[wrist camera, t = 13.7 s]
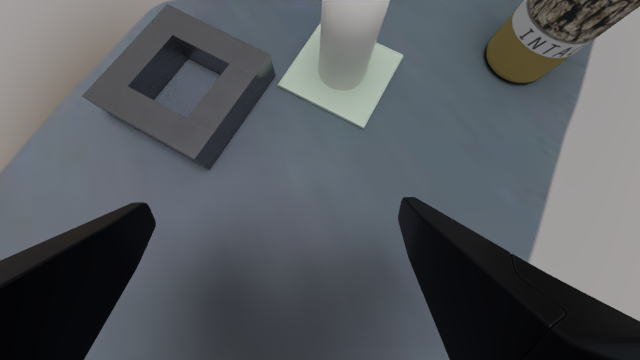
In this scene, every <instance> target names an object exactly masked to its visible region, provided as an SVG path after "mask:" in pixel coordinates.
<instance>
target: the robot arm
mask: <svg viewBox="0 0 640 360" xmlns="http://www.w3.org/2000/svg"><path fill="white" fill-rule="evenodd" d="M398 221H399V225H400V229H401V232H402V236H403V239H404V243H405V247H406V250H407V254H408V257H409V260H410V263H411V265H412V268H413V270H414V273H415V275H416V278H417V280H418V282H419V285H420V287H421V290H422V292H423V295H424V297H425V300H426V302H427V305H428V307H429V310H430V312H431V314H432V317H433V319H434V322H435V324H436V327H437V329H438V332H439V334H440V337H441V339H442V341H443V344H444V346H445V349H446V351H447V354H448V356H449V359H450V360H640V321H638V320H636V319H634V318H632V317H630V316H628V315H626V314H624V313H622V312H620V311H618V310H616V309H614V308H612V307H611V306H609V305H607V304H604V303H602V302H601V301H599V300H597V299H595V298H593V297H591V296H589V295H587V294H585V293H583V292H581V291H579V290H578V289H576V288H573V287H572V286H570V285H568V284H566V283H564V282H562V281H560V280H558V279H557V278H554V277H553V276H551V275H549V274H547V273H545V272H544V271H542V270H540V269H538V268H536V267H535V266H533V265H531V264H529V263H528V262H526V261H524V260H522V259H521V258H519V257H517V256H515V255H514V254H510V252H508V251H507V250H505V249H503V248H502V247H500V246H498V245H496V244H495V243H493V242H491V241H489V240H488V239H486V238H484V237H483V236H481V235H479V234H477V233H476V232H474V231H472V230H470V229H469V228H467V227H465V226H464V225H462V224H460V223H458V222H457V221H455V220H453V219H451V218H450V217H448V216H446V215H445V214H443V213H441V212H439V211H438V210H436V209H434V208H432V207H431V206H429V205H427V204H426V203H424V202H422V201H420V200H419V199H417V198H415V197H404V198H403V199H402V201H401V205H400V210H399V215H398ZM155 225H156V222H155V219H154V217H153V214H152V212H151V210H150V208H149V206H148V204H147V203H131V204H128V205H126V206H124V207H122V208H119V209H117V210H115V211H112V212H110V213H108V214H106V215H103V216H101V217H99V218H96V219H94V220H92V221H90V222H87V223H85V224H83V225H81V226H78V227H76V228H74V229H71V230H69V231H67V232H65V233H62V234H60V235H58V236H55V237H53V238H51V239H49V240H46V241H44V242H42V243H40V244H37V245H35V246H33V247H30V248H28V249H26V250H24V251H21V252H19V253H17V254H14V255H12V256H10V257H8V258H5V259H3V260H1V261H0V360H84V359H85V357H86V355H87V353H88V352H89V350H90V348H91V346H92V345H93V343H94V341H95V339H96V338H97V336H98V334H99V333H100V331H101V329H102V327H103V326H104V324H105V322H106V320H107V319H108V317H109V315H110V314H111V312H112V310H113V308H114V307H115V305H116V303H117V301H118V300H119V298H120V296H121V294H122V293H123V291H124V289H125V288H126V286H127V284H128V282H129V281H130V279H131V277H132V275H133V274H134V272H135V270H136V268H137V266H138V264H139V262H140V260H141V258H142V256H143V253H144V251H145V249H146V247H147V245H148V242H149V240H150V238H151V236H152V233H153V231H154V229H155Z"/></svg>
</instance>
